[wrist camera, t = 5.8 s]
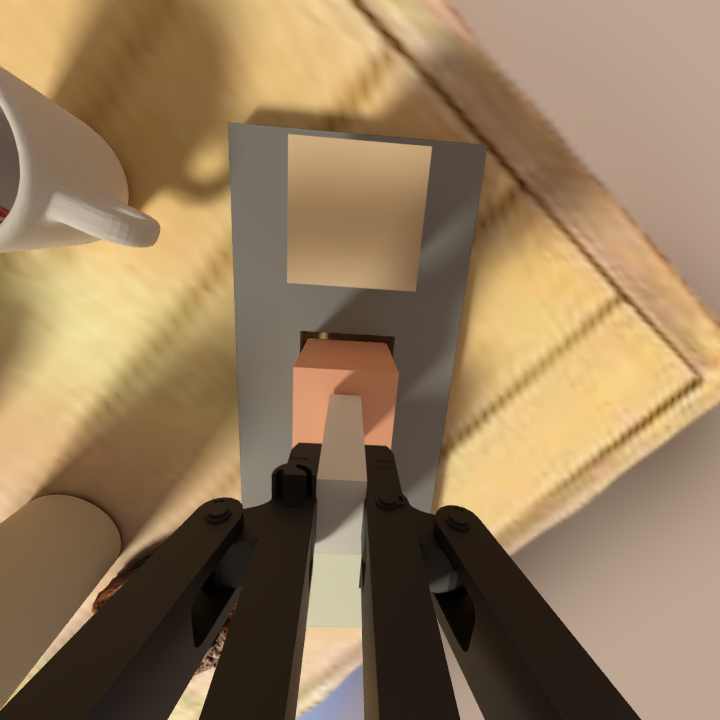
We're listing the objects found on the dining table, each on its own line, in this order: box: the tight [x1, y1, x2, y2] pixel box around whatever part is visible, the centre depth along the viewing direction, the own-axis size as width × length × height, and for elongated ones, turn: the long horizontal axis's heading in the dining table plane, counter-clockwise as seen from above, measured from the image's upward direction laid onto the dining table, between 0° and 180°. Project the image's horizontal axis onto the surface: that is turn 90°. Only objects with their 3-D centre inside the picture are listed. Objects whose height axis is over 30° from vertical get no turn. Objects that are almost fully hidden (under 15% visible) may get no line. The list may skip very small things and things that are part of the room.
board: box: [228, 122, 487, 514], centre depth 23 cm, size 28×14×2 cm, turn 176°
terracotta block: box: [292, 338, 399, 450], centre depth 20 cm, size 5×5×6 cm
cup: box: [0, 66, 160, 253], centre depth 17 cm, size 11×8×8 cm
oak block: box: [287, 134, 432, 292], centre depth 15 cm, size 5×5×6 cm
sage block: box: [306, 553, 362, 628], centre depth 21 cm, size 5×5×6 cm
